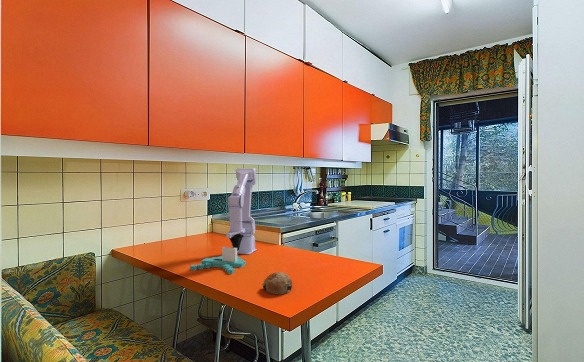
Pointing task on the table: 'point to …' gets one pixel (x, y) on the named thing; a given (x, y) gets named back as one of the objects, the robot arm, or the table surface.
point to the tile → (229, 254)
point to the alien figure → (219, 264)
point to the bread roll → (277, 283)
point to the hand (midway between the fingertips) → (236, 250)
